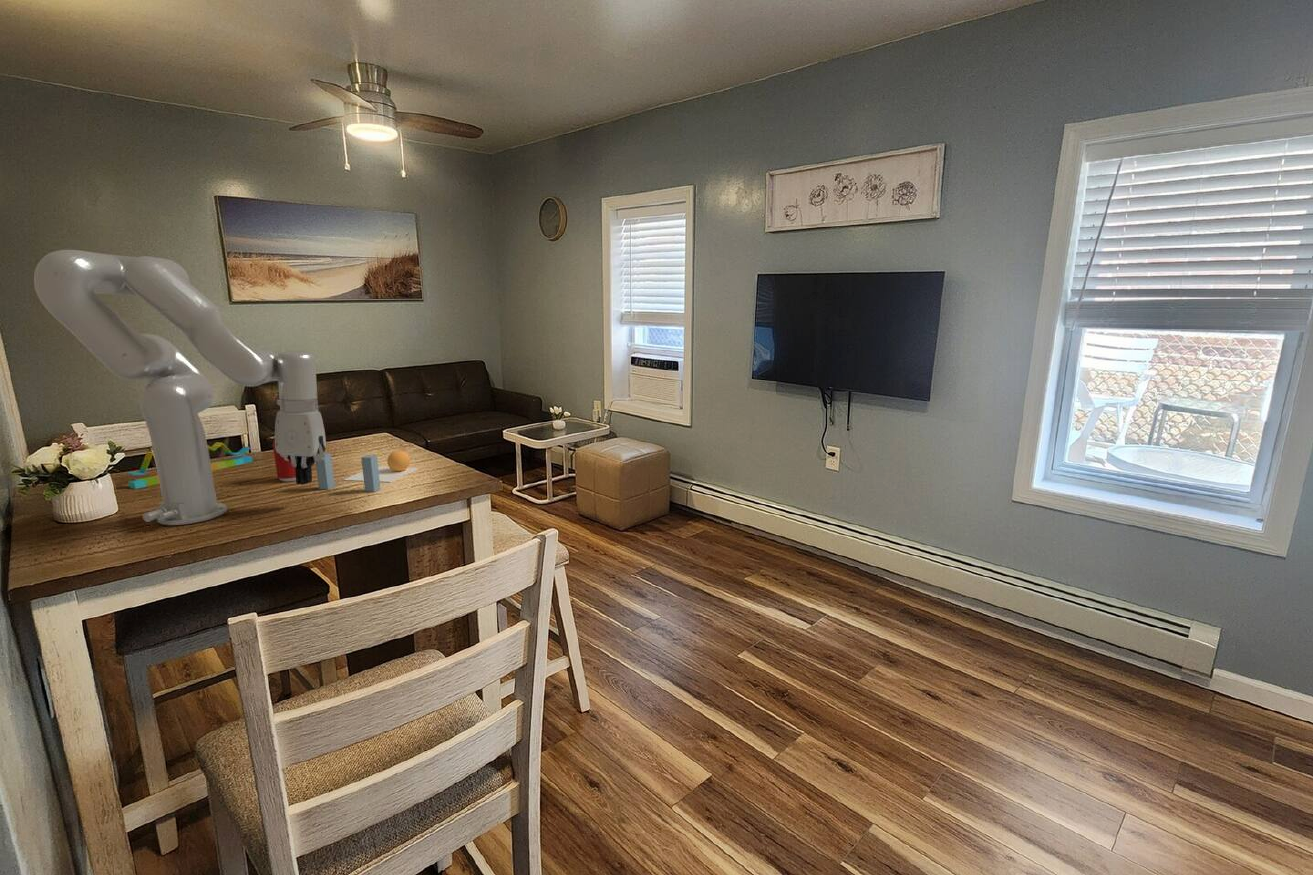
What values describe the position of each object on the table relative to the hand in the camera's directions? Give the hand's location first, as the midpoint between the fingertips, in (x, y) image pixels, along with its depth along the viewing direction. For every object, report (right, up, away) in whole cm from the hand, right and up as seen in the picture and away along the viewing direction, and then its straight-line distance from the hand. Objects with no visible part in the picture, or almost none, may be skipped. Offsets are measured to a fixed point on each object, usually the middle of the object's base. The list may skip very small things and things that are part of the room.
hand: (304, 482), depth 143 cm
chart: (-48, 0, +30) cm, 57 cm away
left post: (-3, -2, +15) cm, 16 cm away
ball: (+9, +4, +30) cm, 32 cm away
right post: (+10, -3, +13) cm, 17 cm away
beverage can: (-17, -1, +24) cm, 29 cm away
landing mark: (+6, 0, +28) cm, 28 cm away
